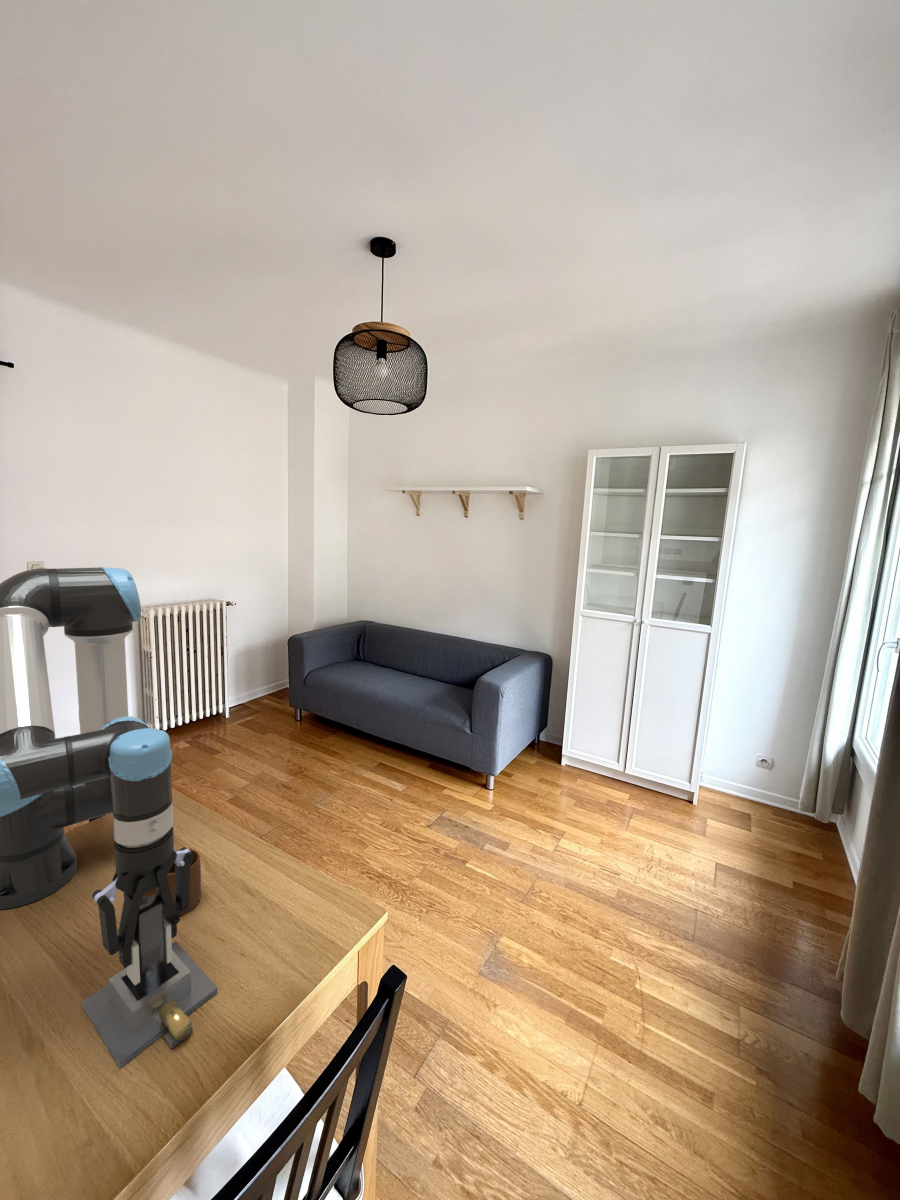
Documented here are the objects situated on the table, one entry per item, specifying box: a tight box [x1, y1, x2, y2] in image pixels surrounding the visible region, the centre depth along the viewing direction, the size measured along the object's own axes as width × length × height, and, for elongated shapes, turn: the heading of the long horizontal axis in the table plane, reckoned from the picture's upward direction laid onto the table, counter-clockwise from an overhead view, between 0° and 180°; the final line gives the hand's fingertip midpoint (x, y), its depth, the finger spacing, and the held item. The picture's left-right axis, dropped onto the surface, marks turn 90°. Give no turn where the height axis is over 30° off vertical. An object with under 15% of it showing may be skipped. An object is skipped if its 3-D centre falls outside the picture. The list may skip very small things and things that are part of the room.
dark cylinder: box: [134, 895, 166, 1000], centre depth 75 cm, size 4×4×15 cm
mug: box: [143, 848, 202, 917], centre depth 93 cm, size 12×8×9 cm, turn 125°
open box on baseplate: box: [81, 940, 218, 1069], centre depth 75 cm, size 18×14×4 cm
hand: (150, 967), depth 75 cm, fingers closed on dark cylinder, 4 cm apart
